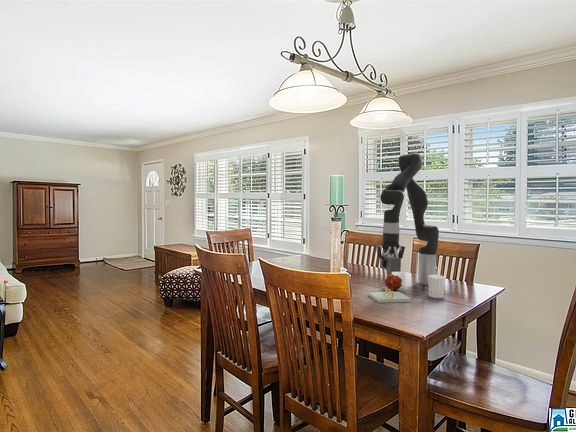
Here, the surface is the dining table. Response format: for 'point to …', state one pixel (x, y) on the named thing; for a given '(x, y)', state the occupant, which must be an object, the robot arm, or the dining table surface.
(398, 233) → the robot arm
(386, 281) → the dragon fruit
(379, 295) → the board
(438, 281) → the white cup
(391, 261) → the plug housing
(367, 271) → the dining table surface
